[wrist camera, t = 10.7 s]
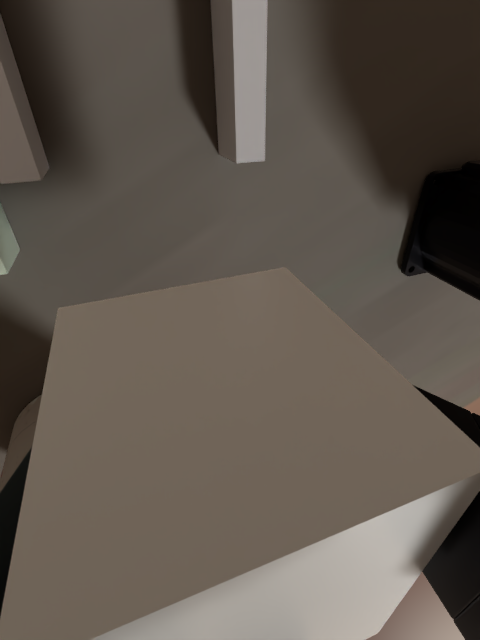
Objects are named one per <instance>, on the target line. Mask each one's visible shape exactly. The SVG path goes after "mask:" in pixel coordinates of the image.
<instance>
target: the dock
mask: <svg viewBox="0 0 480 640" xmlns="http://www.w3.org/2000/svg"><path fill="white" fill-rule="evenodd" d="M210 1H211V20H212V38H213V57H214V75H215V94H216V113H217V131H218V150H219V155H221V156H223V157H225V158H227V159H229V160H231V161H233V162H235V163H245V162H257V161H265V117H266V57H267V0H210ZM49 168H50V167H49V164H48V161H47V158H46V155H45V152H44V149H43V145H42V142H41V139H40V136H39V133H38V130H37V127H36V124H35V120H34V117H33V114H32V111H31V108H30V105H29V102H28V98H27V95H26V92H25V89H24V86H23V83H22V80H21V76H20V73H19V70H18V67H17V64H16V61H15V58H14V54H13V51H12V48H11V45H10V42H9V39H8V36H7V33H6V29H5V26H4V23H3V20H2V17H1V14H0V182H1V184H6V183H18V182H29V181H40V180H42V178H43V177H44V175H45V174H46V172H47V171H48V170H49Z"/></svg>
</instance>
